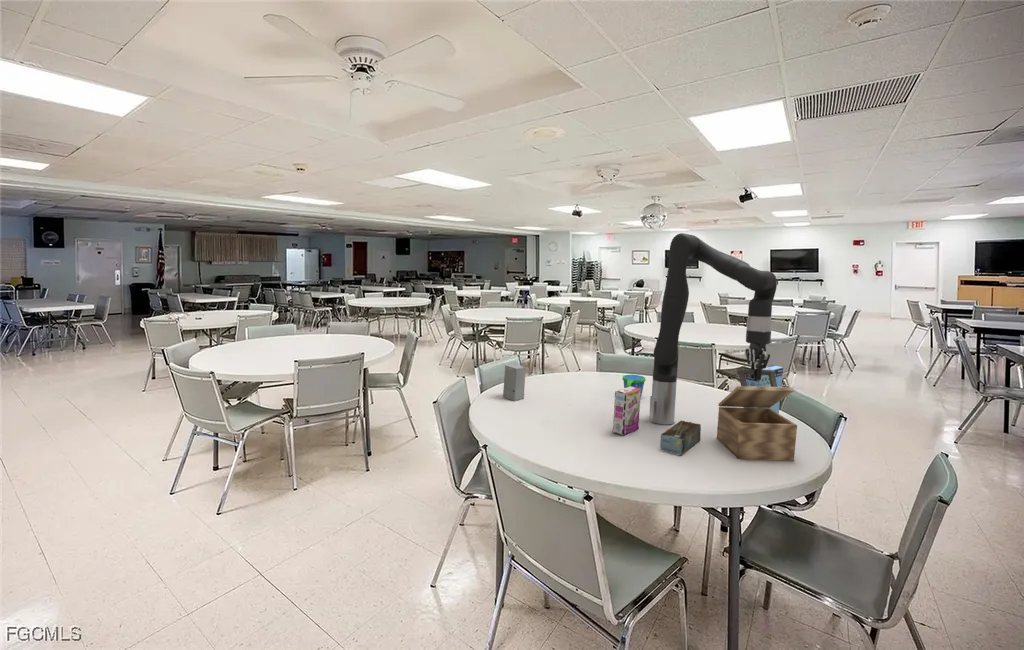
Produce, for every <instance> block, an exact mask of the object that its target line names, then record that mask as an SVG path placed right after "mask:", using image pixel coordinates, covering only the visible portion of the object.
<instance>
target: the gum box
mask: <svg viewBox="0 0 1024 650" xmlns="http://www.w3.org/2000/svg"><path fill="white" fill-rule="evenodd" d="M762 370H775V378H776V382H777V386H778V387H782V386H783V385H782V383H783V382H782V381H783V373H784V367H783V366H778V365H772V364H771V365H767V366H766V368H765V369H762ZM745 378H746V383H747V386H756V387H771V384H770V380H769V376H768V375H761V380H754V379H752V378H750V375H745ZM780 405H781V400H780V401H779V402H777V403H776V404H775V405H773V406H772V407H770V409H771V410H773V411H775V412H776V413H778V414H780ZM742 408H755V407H742Z"/></svg>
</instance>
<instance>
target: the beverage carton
mask: <svg viewBox="0 0 1024 650" xmlns="http://www.w3.org/2000/svg"><path fill="white" fill-rule="evenodd" d="M701 426H702V425H701V424H700V423H695V422H694V423H693V422H691V421H685V420H680V421H678V422H677V423H676V424H675V423H674V425H672V426H671V427H670V428H668V429H667V430H665V431H664V432H662V433H661V434H660V442H659V445H660V447H659V448H660V451H662V450H663V451H662V452H666V451H667V452H666V453H671V454H674V455H677V454H678V455H679V456H683V455H684V454H685V453H686V452H688V451H689V450H690V449H691V448H693V446H695V445H696V444H697V443H698V442H700V441H701V430H702V428H701ZM678 455H677V456H678Z"/></svg>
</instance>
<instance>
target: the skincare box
mask: <svg viewBox="0 0 1024 650" xmlns="http://www.w3.org/2000/svg"><path fill="white" fill-rule="evenodd" d="M526 370H527V367H525V366H522V365H520V364H516V363H512V364H505V365H504V377H503V393H502V398H504V399H506V398H507V400H510V401H513V402H515V401H516V400H517V401H521V400H520V399H522V400H524V398H525V385H526V373H527V371H526ZM517 401H516V402H517Z"/></svg>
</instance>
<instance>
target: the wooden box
mask: <svg viewBox="0 0 1024 650" xmlns="http://www.w3.org/2000/svg"><path fill="white" fill-rule="evenodd" d="M716 429H717V431H716V440H718V442H720V443H721V445H723V446H724V447H725V448H726V449H727V451H729V452H730V453H731V454H732V455H733V456H734V457H735V458H736V459H739V460H766V461H767V460H768V461H789V460H794V461H795V454H796V453H795V452H796V444H797V433H798V432H797V430H798V425H797V424H796V423H794V422H793V421H791V420H790V419H788V418H786V417H784V416H783V415H781V414H780V413H779V414H778V413H776V412H775V411H773V410H771V409H770V408H743V407H720V406H718V416H717V428H716Z"/></svg>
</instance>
